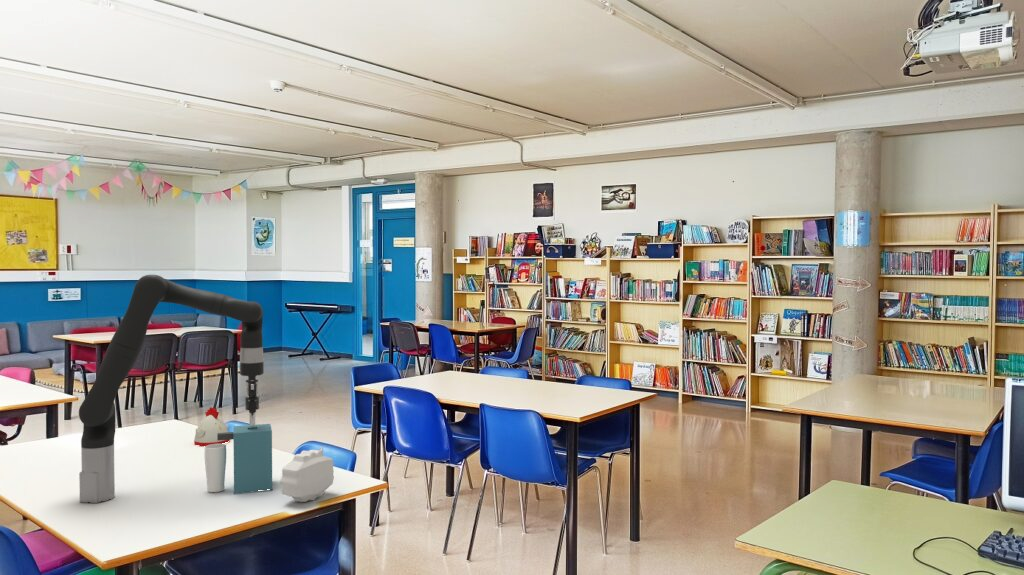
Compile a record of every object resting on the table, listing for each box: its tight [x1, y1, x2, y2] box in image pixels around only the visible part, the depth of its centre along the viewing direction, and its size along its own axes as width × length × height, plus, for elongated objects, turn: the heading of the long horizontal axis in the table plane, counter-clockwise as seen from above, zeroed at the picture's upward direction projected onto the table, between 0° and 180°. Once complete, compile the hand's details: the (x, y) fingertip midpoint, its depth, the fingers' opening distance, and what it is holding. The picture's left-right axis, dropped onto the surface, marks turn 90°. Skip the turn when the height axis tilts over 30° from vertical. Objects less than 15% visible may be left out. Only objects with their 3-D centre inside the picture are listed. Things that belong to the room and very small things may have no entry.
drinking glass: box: [204, 444, 227, 493], centre depth 249 cm, size 7×7×15 cm
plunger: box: [244, 395, 260, 429], centre depth 253 cm, size 4×4×15 cm
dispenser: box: [217, 423, 273, 494], centre depth 252 cm, size 17×12×20 cm
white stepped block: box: [279, 445, 335, 503], centre depth 240 cm, size 11×18×16 cm, turn 152°
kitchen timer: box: [193, 406, 230, 447], centre depth 318 cm, size 14×14×15 cm
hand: (252, 411), depth 253 cm, fingers closed on plunger, 4 cm apart
